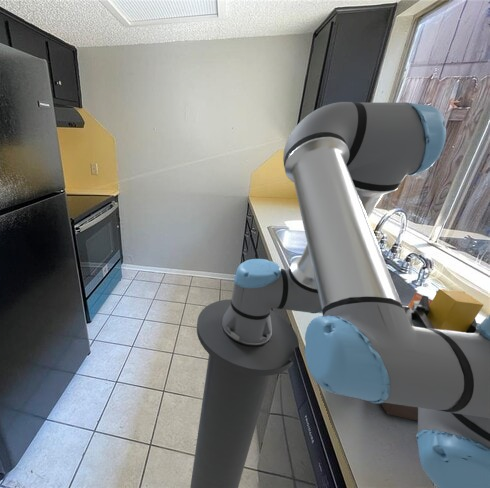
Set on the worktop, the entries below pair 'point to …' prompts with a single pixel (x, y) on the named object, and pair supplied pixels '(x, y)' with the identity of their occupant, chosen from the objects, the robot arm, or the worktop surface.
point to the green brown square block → (401, 410)
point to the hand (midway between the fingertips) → (443, 308)
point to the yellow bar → (453, 310)
